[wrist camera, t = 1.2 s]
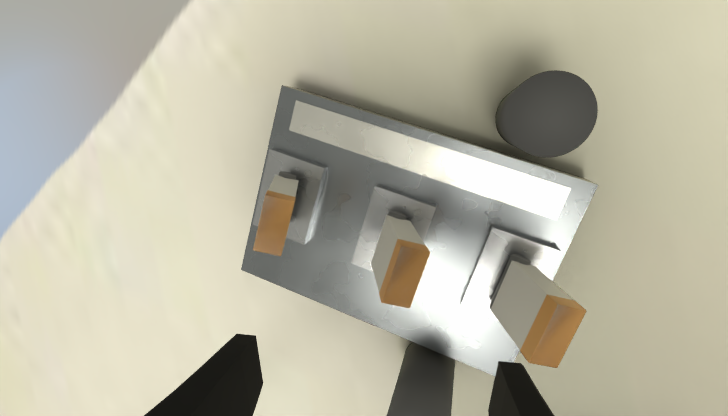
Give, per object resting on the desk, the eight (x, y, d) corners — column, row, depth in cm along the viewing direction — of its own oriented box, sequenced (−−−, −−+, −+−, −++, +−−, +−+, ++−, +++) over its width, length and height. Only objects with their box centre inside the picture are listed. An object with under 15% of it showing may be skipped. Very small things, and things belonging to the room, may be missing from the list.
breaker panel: (585, 178, 19) (602, 187, 17) (502, 358, 22) (505, 387, 20) (297, 88, 22) (276, 84, 20) (258, 258, 25) (235, 273, 23)
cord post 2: (570, 96, 19) (613, 84, 13) (545, 155, 20) (574, 168, 14) (508, 78, 19) (524, 60, 14) (486, 137, 20) (492, 142, 15)
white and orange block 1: (407, 213, 19) (430, 250, 15) (390, 263, 20) (408, 310, 16) (384, 208, 19) (401, 243, 15) (368, 258, 20) (380, 304, 16)
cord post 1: (461, 350, 23) (458, 424, 17) (444, 390, 24) (435, 473, 18) (413, 330, 24) (395, 395, 18) (398, 370, 24) (375, 445, 19)
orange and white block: (300, 175, 21) (295, 199, 16) (288, 223, 21) (280, 258, 17) (276, 169, 20) (265, 192, 16) (265, 218, 21) (252, 252, 17)
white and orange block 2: (528, 257, 18) (587, 308, 14) (505, 307, 19) (556, 369, 15) (504, 251, 18) (558, 302, 14) (482, 302, 19) (527, 364, 15)
